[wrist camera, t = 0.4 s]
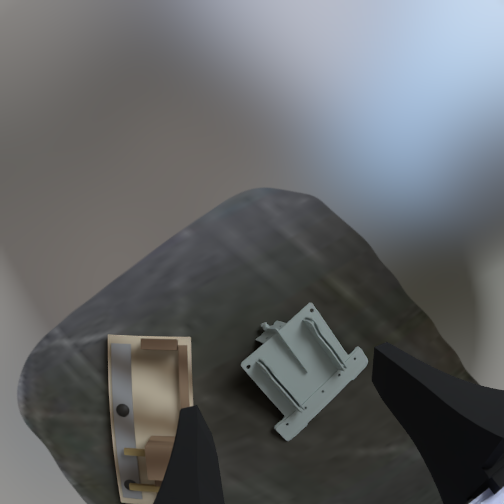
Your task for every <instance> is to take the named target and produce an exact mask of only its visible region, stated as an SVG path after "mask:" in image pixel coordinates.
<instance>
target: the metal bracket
mask: <svg viewBox="0 0 504 504" xmlns="http://www.w3.org/2000/svg"><path fill="white" fill-rule="evenodd" d="M311 308H312V309H313V312H312V313H311V312H310V309H311ZM261 327H263V329H264V330H265V332H263V333H262V334H261V336H259V337H258V338H256V339H255V340H256V341H258V342H261V343H263V344H262V345H261V346H260V347H259V348H258V349H257V350H256V351H254V352H253V353H252V354H251V355H250V356H248V357H247V358H246V359H245V360H244V361H243V362H242V363H241V367H242V368H243V369H244V370H245V371H246V373H247V374H248V375H249V376H250V377H251V378H252V380H253V381H254V382H255V383H256V384H257V385H258V386H259V388H260V389H261V390H262V391H263V392H264V393H265V394H266V396H267V397H268V398H269V399H270V400H271V401H272V402H273V404H274V405H275V406H276V407H277V408H278V409H279V410H280V411H281V412H282V414H283V415H284V418H283V419H282V420H281V421H280V422H278V423H277V424H276V425H275V426H274V428H275V430H276V431H277V432H278V433H279V434H280V435H281V436H282V437H283V438H284V439H285V440H286V441H289V440H291V439H292V438H293V437H294V436H296V435H297V434H298V433H299V432H300V431H301V430H302V429H303V428H305V427H306V426H307V424H308V422H309V421H310V420H311V419H312V418H313V417H314V416H316V415H317V414H318V413H319V412H320V411H321V410H322V409H323V408H324V407H325V406H326V405H327V404H328V403H329V402H330V401H331V400H332V399H333V398H334V397H335V396H336V395H337V394H338V393H339V392H340V391H341V390H342V389H343V388H344V387H345V386H346V385H347V384H348V383H349V382H350V381H351V380H354V379H355V378H356V377H357V375H358V374H359V373H360V372H361V371H362V370H363V369H364V368H365V367H366V366H367V363H368V359H367V357H366V356H365V354H364V353H363V351H362V349H361V348H359V347H356V348H355V349H354V350H353V351H352V352H351V353H350V354H349V355H347V353H346V352H345V350H344V349H343V347H342V346H341V344H340V343H339V342H338V340H337V339H336V337H335V336H334V334H333V333H332V331H331V330H330V328H329V327H328V325H327V324H326V322H325V321H324V320H323V318H322V317H321V315H320V314H319V312H318V311H317V309H316V308H315V306H314V305H313V304H312V303H308V304H307V305H306V306H305V307H304V308H303V309H302V310H301V311H300V312H298V313H297V314H296V315H295V316H294V317H293V318H292V319H291V320H290V321H289V322H287V323H284V322H281V321H276V322H275V323H274V325H271V326H269V325H268V324H267V322H264V323H263V324H262V325H261ZM354 358H355V360H354ZM247 365H250V368H249V369H247V368H246V366H247ZM338 374H340V376H338ZM322 390H323V392H322ZM305 407H306V409H305ZM287 423H288V425H286V424H287Z"/></svg>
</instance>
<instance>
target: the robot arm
mask: <svg viewBox="0 0 504 504" xmlns="http://www.w3.org/2000/svg"><path fill="white" fill-rule="evenodd" d="M372 382H373V384H374V386H375V388H376V389H377V391H378V393H379V395H380V396H381V398H382V400H383V401H384V403H385V404H386V405H387V407H388V408H389V409H390V411H391V412H392V413H393V415H394V416H395V417H396V419H397V420H398V421H399V423H400V424H401V425H402V426H403V428H404V429H405V430H406V432H407V433H408V434H409V436H410V437H411V439H412V440H413V442H414V443H415V445H416V447H417V449H418V450H419V452H420V454H421V456H422V457H423V459H424V461H425V463H426V465H427V467H428V469H429V471H430V473H431V475H432V477H433V479H434V482H435V484H436V486H437V488H438V491H439V493H440V496H441V498H442V501H443V503H444V504H504V390H498V389H493V388H489V387H484V386H480V385H477V384H473V383H470V382H467V381H464V380H462V379H459V378H456V377H454V376H451V375H449V374H447V373H444V372H442V371H440V370H438V369H436V368H434V367H432V366H430V365H428V364H426V363H424V362H422V361H420V360H418V359H416V358H415V357H413V356H411V355H409V354H407V353H406V352H404V351H402V350H400V349H399V348H397V347H395V346H393V345H392V344H390V343H388V342H386V343H383V344H381V345H379V346H376V347H374V359H373V372H372ZM153 504H225V503H224V497H223V490H222V484H221V477H220V470H219V463H218V456H217V452H216V448H215V444H214V441H213V437H212V433H211V431H210V430H209V428H208V426H207V424H206V422H205V420H204V418H203V416H202V414H201V412H200V410H199V408H198V406H197V405H195V406H191V407H186V408H182V409H181V410H180V413H179V420H178V426H177V431H176V436H175V440H174V444H173V448H172V452H171V456H170V459H169V463H168V466H167V469H166V472H165V475H164V478H163V481H162V484H161V486H160V489H159V491H158V493H157V496H156V498H155V500H154V502H153Z"/></svg>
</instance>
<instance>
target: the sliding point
mask: <svg viewBox="0 0 504 504" xmlns="http://www.w3.org/2000/svg"><path fill="white" fill-rule="evenodd" d="M174 440H175V436H151V437H150V438H149V440H148V442H147V443H146V445H145V446H144V447H145V449H137V448H124V455H130V456H144V457H146V466H147V475H148V480H159V481H163V478H164V475H165V472H166V469H167V466H168V463H169V459H170V456H171V452H172V448H173V444H174Z"/></svg>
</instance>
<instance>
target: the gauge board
mask: <svg viewBox="0 0 504 504" xmlns="http://www.w3.org/2000/svg"><path fill="white" fill-rule="evenodd" d="M108 380H109V402H110V417H111V430H112V440H113V450H114V459H115V467H116V474H117V481H118V487H119V494H120V499H121V502H122V503H131V504H153V502H154V500H155V498H156V496H157V493H158V491H159V489H160V486H161V484H162V481H159V480H148V475H147V466H146V457H144V456H130V455H124V448H137V449H145V447H144V446H145V445H146V443H147V442H148V440H149V438H150V437H151V436H176V431H177V426H178V420H179V413H180V410H181V409H182V408H186V407H191V406H193V387H192V360H191V337H156V336H126V335H108Z"/></svg>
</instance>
